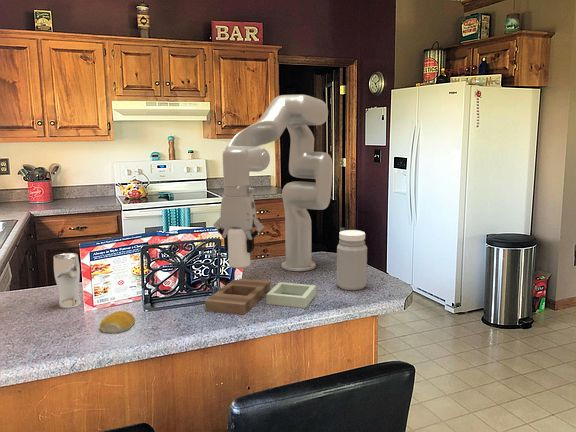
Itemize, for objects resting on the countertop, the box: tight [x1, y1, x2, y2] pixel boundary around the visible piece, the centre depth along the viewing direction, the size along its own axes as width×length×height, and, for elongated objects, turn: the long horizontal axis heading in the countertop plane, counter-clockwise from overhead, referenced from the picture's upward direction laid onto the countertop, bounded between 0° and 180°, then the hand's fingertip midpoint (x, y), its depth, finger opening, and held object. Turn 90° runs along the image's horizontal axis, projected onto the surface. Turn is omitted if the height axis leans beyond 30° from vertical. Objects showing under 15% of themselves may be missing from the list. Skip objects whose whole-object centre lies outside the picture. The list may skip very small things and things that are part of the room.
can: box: [227, 228, 251, 269], centre depth 153 cm, size 6×6×12 cm
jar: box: [336, 229, 368, 291], centre depth 166 cm, size 10×10×18 cm
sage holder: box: [265, 281, 317, 309], centre depth 156 cm, size 12×12×3 cm
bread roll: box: [99, 310, 136, 334], centre depth 136 cm, size 8×9×4 cm
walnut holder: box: [204, 278, 272, 316], centre depth 156 cm, size 22×12×3 cm, turn 162°
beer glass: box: [52, 252, 82, 309], centre depth 152 cm, size 7×7×15 cm
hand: (239, 250), depth 154 cm, fingers closed on can, 6 cm apart
